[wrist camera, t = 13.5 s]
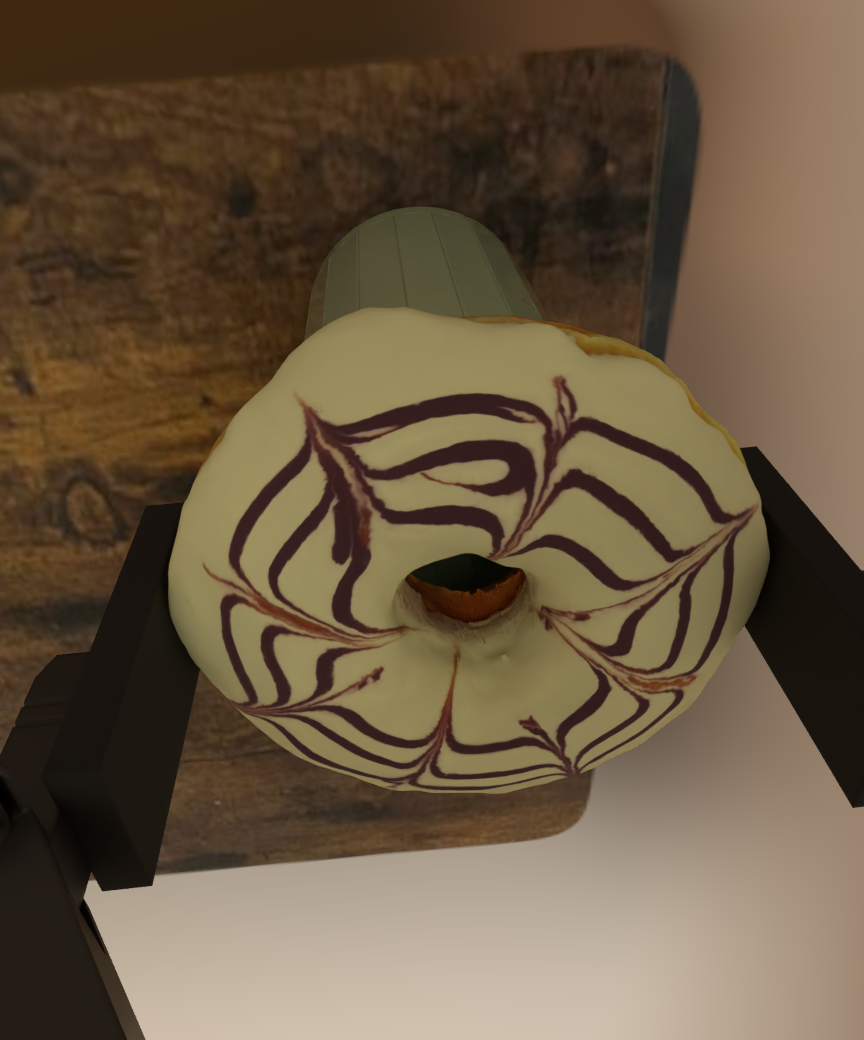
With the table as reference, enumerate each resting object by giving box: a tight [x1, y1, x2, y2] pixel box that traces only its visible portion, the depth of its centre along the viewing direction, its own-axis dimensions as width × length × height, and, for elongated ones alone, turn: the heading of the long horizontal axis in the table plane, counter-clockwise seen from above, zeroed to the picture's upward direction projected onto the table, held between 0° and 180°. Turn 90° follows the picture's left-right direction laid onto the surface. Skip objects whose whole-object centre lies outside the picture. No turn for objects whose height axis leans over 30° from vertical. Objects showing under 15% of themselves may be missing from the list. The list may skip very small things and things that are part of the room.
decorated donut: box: [168, 307, 770, 794], centre depth 15 cm, size 10×11×4 cm
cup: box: [303, 207, 551, 592], centre depth 22 cm, size 7×7×12 cm
